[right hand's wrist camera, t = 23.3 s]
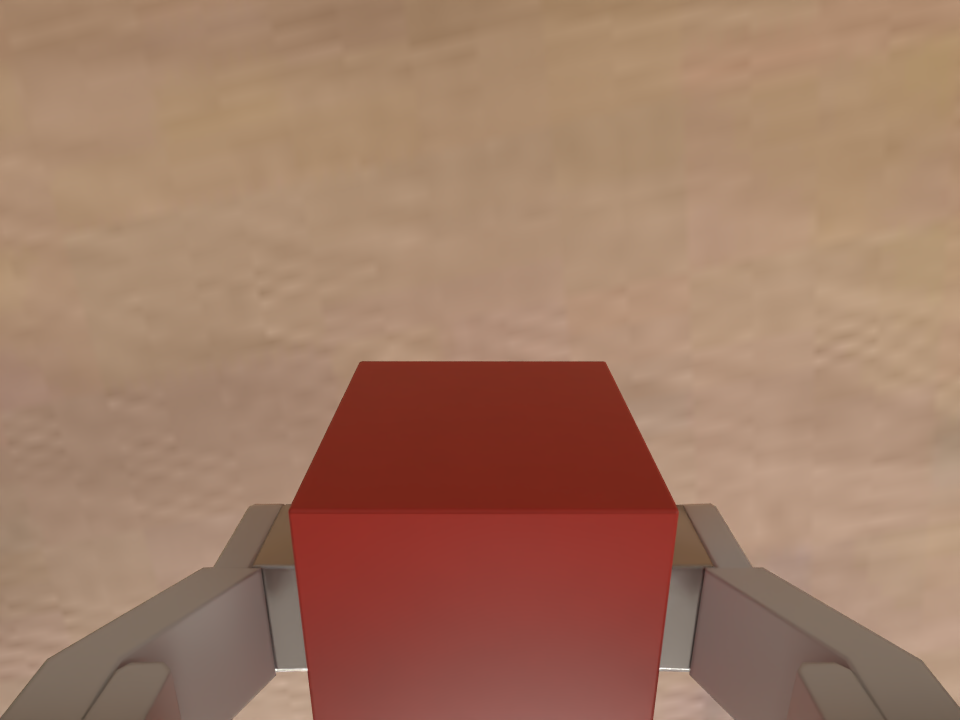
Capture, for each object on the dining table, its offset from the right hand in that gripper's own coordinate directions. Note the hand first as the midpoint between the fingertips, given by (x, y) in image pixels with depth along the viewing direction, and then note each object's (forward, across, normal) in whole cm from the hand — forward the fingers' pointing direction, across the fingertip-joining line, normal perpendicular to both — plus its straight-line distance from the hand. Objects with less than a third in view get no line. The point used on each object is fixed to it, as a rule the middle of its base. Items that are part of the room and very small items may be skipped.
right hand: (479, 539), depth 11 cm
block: (+2, 0, 0) cm, 2 cm away
